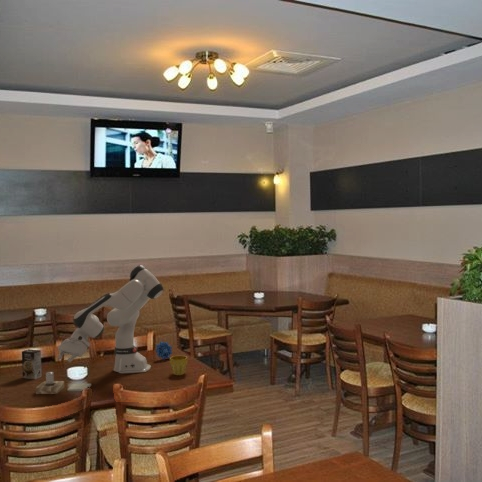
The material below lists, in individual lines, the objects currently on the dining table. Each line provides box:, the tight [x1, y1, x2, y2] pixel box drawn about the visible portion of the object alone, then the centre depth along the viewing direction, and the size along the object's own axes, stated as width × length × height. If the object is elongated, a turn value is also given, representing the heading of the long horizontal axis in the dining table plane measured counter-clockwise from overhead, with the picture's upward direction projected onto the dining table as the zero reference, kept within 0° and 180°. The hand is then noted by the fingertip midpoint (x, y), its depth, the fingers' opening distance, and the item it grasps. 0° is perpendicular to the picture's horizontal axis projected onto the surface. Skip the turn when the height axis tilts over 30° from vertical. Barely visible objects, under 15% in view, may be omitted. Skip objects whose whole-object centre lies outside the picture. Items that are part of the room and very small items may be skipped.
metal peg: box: [45, 371, 55, 386], centre depth 320 cm, size 4×4×10 cm
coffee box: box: [21, 348, 42, 380], centre depth 346 cm, size 9×6×16 cm
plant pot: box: [169, 354, 188, 376], centre depth 346 cm, size 10×10×10 cm
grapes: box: [154, 341, 173, 360], centre depth 379 cm, size 12×7×12 cm, turn 119°
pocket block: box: [35, 380, 65, 395], centre depth 320 cm, size 11×11×4 cm
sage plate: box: [67, 383, 92, 392], centre depth 323 cm, size 10×10×1 cm
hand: (63, 360), depth 325 cm, fingers open, 8 cm apart
